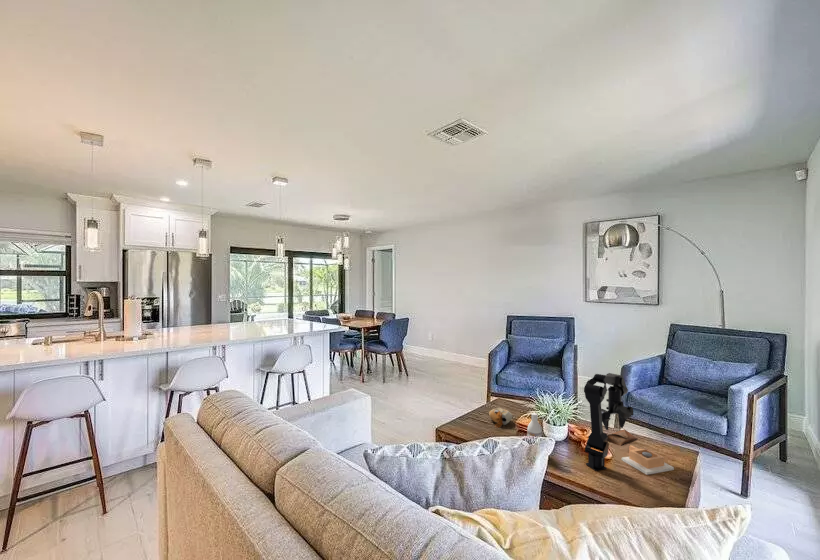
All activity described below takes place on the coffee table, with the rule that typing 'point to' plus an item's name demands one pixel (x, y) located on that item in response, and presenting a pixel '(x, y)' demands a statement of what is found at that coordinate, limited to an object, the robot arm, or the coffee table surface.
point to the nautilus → (500, 416)
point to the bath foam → (534, 426)
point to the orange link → (648, 463)
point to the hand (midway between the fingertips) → (614, 428)
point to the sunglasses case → (620, 437)
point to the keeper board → (645, 470)
